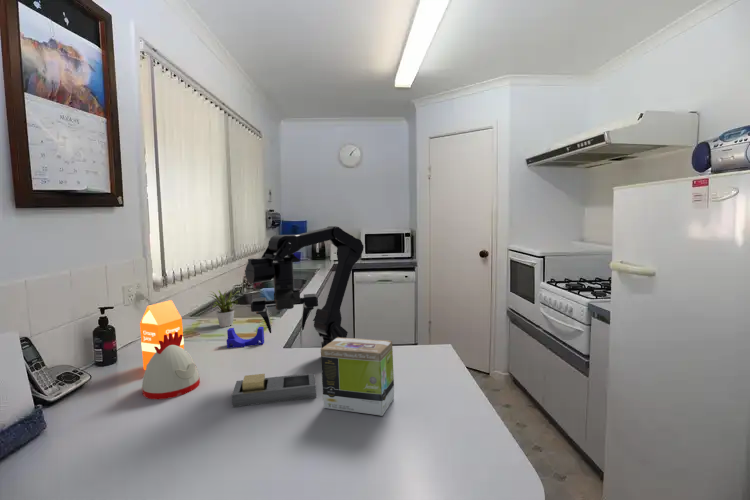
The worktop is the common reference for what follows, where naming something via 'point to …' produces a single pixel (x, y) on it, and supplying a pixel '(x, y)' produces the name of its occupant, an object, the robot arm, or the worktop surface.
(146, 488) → the worktop surface
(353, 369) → the tea box
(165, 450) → the worktop surface
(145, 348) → the orange juice
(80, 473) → the worktop surface
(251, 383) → the brass cuboid
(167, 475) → the worktop surface
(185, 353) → the kitchen timer
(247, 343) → the cable clip
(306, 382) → the grey flat block
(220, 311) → the house plant
